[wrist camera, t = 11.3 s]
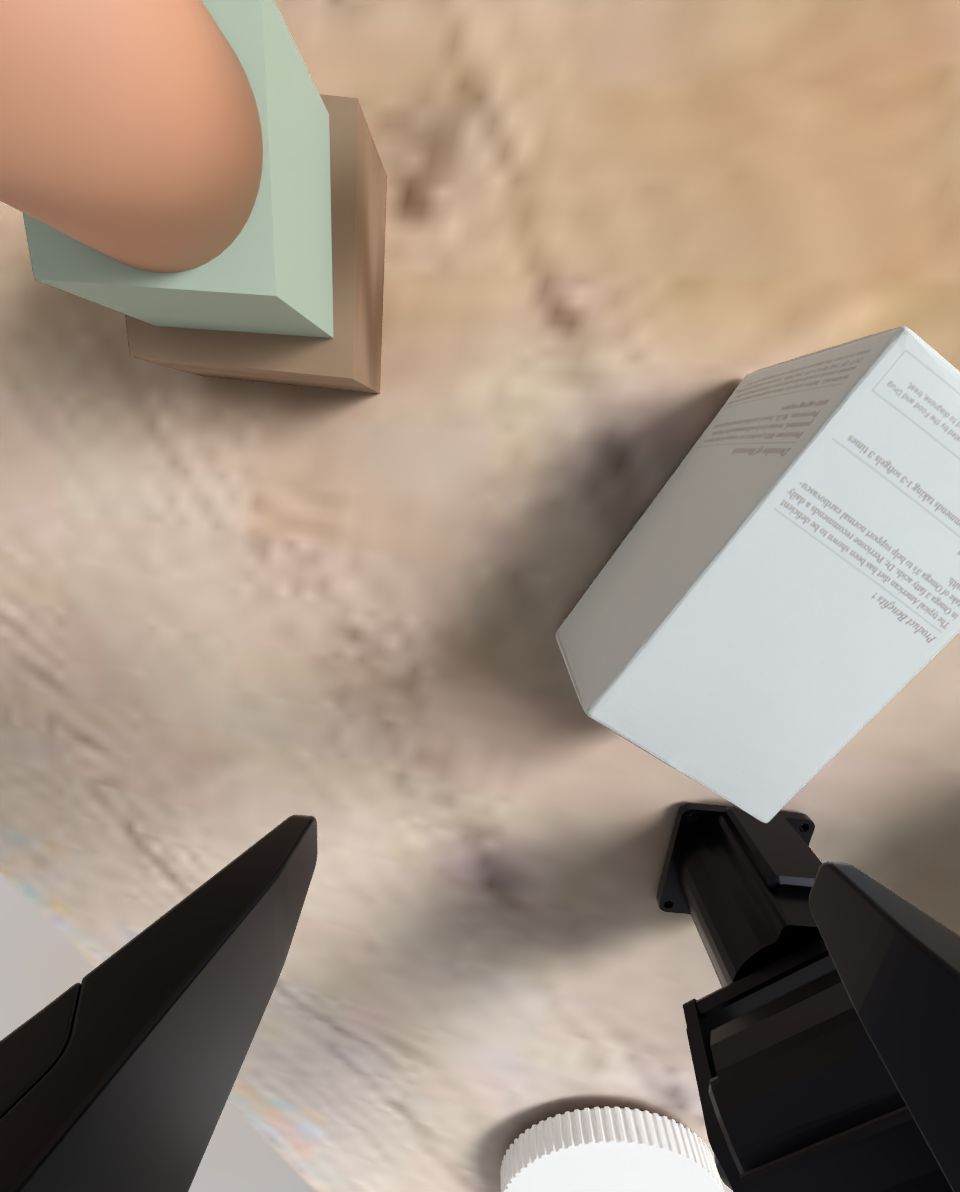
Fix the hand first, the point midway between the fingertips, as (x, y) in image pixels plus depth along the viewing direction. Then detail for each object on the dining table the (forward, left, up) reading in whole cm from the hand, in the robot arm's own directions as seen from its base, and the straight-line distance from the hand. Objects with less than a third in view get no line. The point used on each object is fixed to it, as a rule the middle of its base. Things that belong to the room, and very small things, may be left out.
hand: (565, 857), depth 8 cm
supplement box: (+9, -11, -9) cm, 17 cm away
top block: (+12, +10, -9) cm, 18 cm away
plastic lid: (-38, -10, -14) cm, 41 cm away
